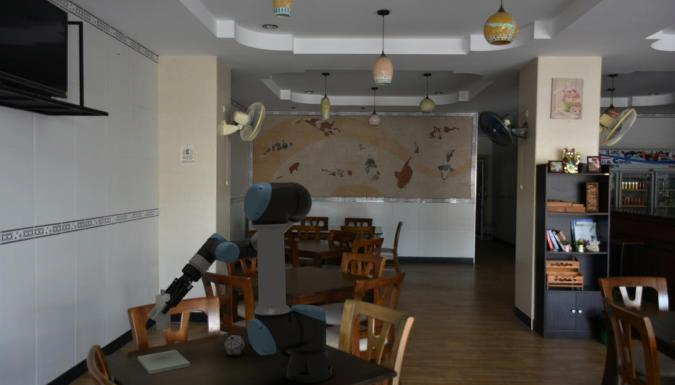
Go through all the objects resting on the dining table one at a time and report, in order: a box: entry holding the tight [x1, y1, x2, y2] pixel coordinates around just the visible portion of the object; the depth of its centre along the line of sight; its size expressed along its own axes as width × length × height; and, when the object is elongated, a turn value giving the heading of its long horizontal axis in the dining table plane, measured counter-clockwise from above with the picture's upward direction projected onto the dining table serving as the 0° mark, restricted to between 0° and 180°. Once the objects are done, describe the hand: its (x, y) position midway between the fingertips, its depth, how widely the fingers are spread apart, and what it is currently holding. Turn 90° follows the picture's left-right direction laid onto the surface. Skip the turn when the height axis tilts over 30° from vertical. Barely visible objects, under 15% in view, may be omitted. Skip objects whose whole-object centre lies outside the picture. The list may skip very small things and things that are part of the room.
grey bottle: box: [155, 288, 172, 331], centre depth 190 cm, size 5×5×14 cm
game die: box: [221, 333, 248, 358], centre depth 196 cm, size 9×8×10 cm
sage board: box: [137, 349, 191, 375], centre depth 189 cm, size 18×14×1 cm
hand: (152, 319), depth 188 cm, fingers closed on grey bottle, 5 cm apart
